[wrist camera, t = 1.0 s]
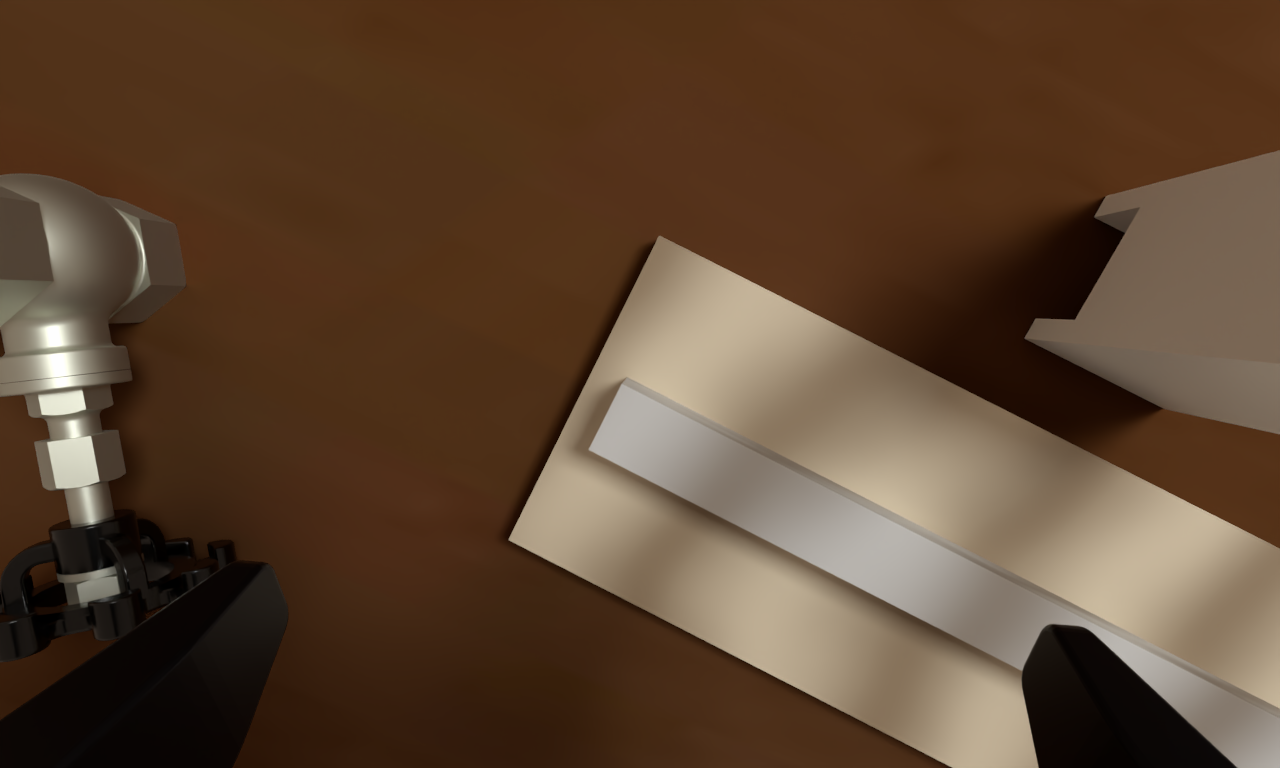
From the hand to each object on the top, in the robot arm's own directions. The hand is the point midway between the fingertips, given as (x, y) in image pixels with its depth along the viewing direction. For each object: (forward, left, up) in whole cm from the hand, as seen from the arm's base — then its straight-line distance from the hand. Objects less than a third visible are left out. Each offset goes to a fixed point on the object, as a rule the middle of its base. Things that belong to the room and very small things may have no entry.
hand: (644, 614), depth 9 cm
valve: (+11, +12, -14) cm, 22 cm away
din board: (-9, -4, -14) cm, 17 cm away
